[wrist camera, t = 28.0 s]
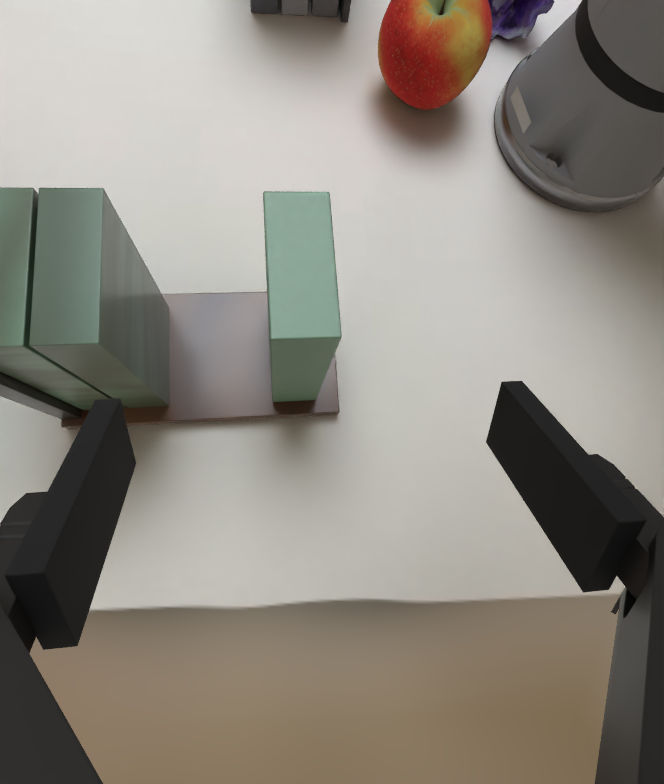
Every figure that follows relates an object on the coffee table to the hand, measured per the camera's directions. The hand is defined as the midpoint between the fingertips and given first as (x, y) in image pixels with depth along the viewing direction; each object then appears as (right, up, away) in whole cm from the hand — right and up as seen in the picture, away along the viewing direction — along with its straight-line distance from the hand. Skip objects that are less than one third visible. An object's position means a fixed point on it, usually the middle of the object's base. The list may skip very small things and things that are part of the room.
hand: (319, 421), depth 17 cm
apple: (+8, +27, +24) cm, 37 cm away
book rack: (-8, +3, +17) cm, 19 cm away
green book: (-2, +4, +17) cm, 17 cm away
